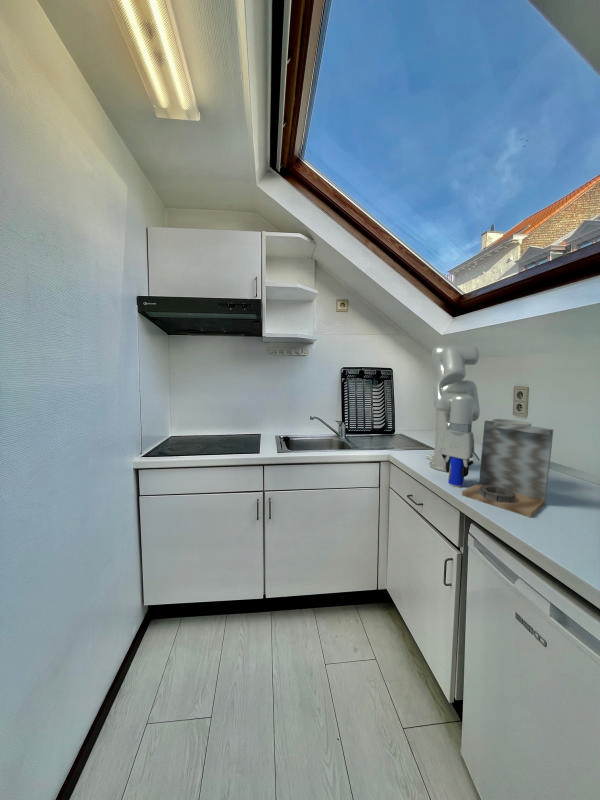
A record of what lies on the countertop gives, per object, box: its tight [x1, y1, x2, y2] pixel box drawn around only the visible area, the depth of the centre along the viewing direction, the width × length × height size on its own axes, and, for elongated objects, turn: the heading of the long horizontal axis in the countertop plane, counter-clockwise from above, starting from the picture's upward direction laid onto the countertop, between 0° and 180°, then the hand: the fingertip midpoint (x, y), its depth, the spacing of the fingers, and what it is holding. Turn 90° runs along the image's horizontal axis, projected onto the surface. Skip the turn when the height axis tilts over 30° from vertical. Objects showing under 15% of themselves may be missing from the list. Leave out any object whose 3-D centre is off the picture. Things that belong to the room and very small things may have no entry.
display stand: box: [461, 420, 554, 518], centre depth 103 cm, size 20×16×26 cm
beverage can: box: [447, 456, 465, 488], centre depth 116 cm, size 5×5×15 cm
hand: (456, 473), depth 116 cm, fingers closed on beverage can, 5 cm apart
